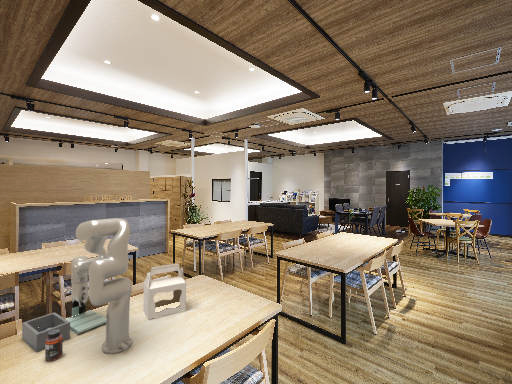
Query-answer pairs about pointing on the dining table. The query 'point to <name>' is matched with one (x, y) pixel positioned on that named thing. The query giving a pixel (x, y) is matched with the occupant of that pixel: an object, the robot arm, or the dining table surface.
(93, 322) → the lid
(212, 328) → the dining table surface
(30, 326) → the tub
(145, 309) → the gable box
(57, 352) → the supplement bottle
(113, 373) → the dining table surface
